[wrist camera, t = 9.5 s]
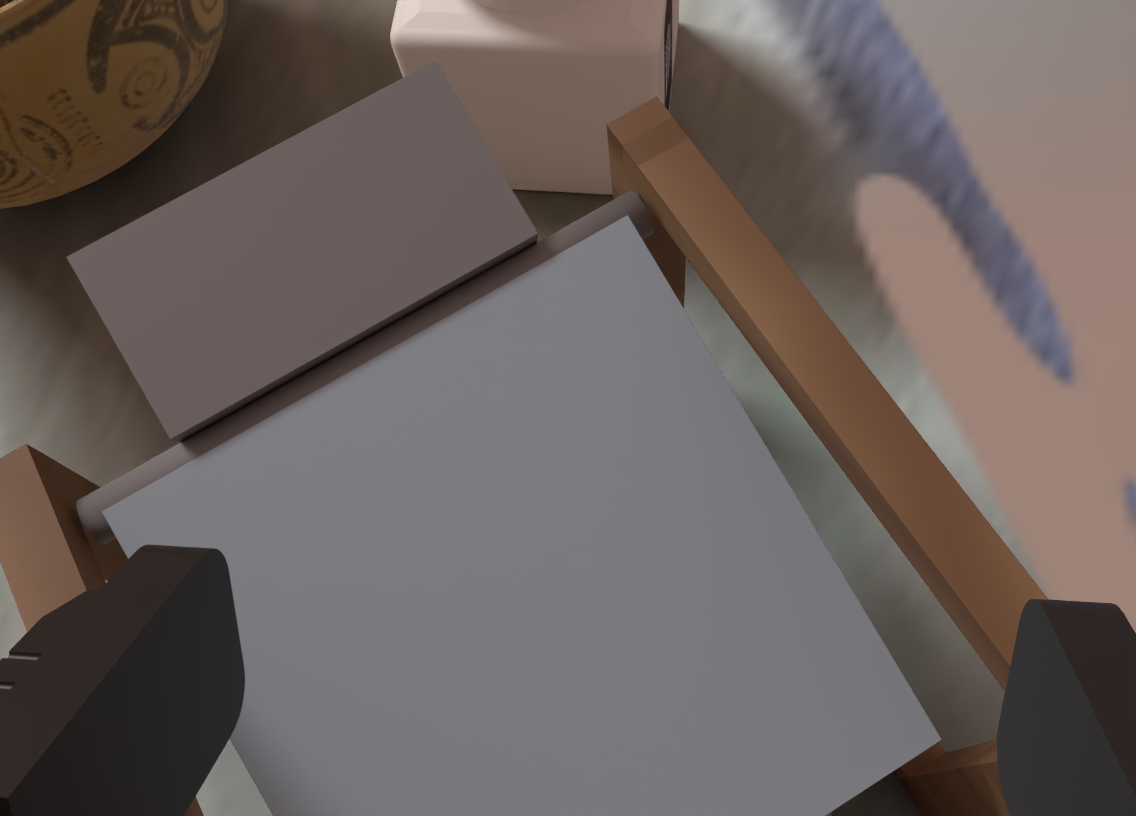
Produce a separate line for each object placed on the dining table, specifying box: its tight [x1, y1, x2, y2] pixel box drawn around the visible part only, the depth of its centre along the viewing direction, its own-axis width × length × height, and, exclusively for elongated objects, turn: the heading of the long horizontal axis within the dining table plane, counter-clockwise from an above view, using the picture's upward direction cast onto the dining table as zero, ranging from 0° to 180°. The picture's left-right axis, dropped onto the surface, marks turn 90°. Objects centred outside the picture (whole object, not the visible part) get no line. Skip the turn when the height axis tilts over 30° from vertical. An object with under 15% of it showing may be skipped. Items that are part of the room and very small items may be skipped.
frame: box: [0, 96, 1048, 816], centre depth 25 cm, size 15×15×14 cm
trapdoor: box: [67, 60, 942, 816], centre depth 21 cm, size 12×16×2 cm
